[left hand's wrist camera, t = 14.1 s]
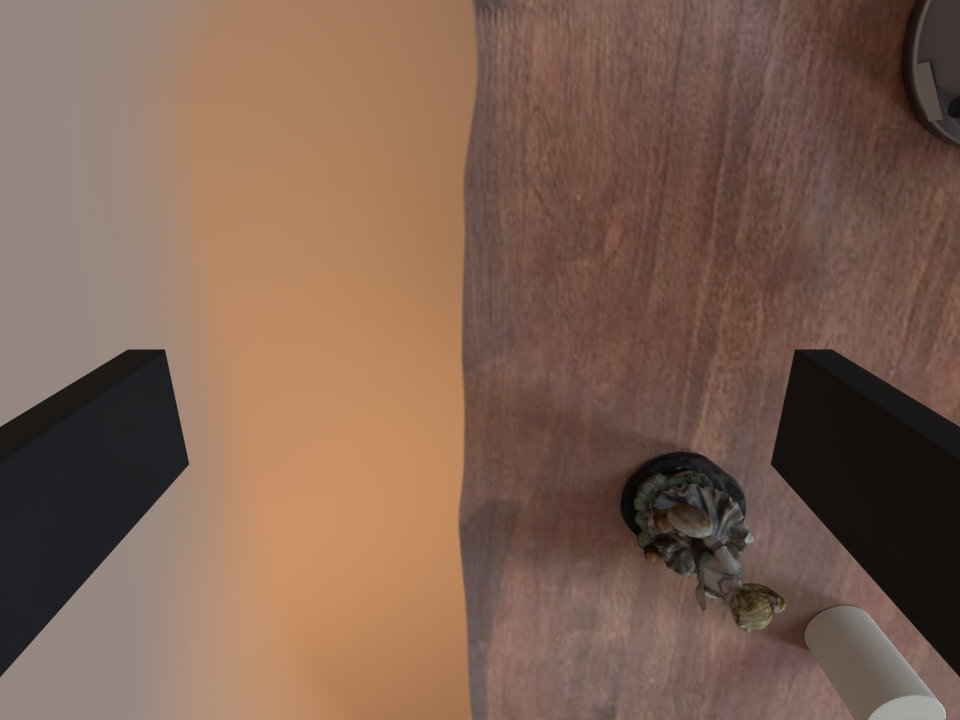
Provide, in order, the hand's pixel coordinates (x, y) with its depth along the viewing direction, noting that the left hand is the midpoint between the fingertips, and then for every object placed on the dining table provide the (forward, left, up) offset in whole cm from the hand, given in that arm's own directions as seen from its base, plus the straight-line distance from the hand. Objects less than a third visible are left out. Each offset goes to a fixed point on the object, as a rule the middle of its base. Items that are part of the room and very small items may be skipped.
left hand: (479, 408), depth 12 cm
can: (+43, +36, -34) cm, 65 cm away
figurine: (+27, +18, -34) cm, 47 cm away
